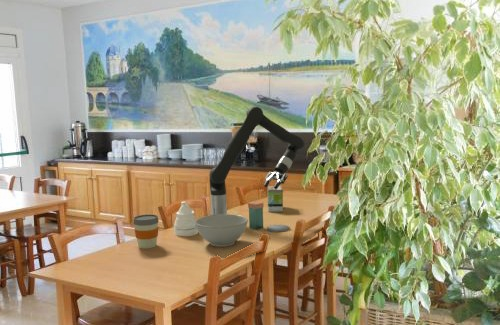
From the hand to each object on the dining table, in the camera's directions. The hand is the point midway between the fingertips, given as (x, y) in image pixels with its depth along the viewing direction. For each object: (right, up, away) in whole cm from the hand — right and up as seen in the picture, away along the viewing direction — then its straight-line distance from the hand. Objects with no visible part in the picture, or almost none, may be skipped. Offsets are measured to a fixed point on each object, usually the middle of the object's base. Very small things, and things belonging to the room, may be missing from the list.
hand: (269, 187), depth 286 cm
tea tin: (-8, -23, -5) cm, 25 cm away
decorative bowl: (-26, -27, -33) cm, 50 cm away
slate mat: (+4, -23, -8) cm, 25 cm away
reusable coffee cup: (-64, -28, -34) cm, 78 cm away
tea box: (+5, -17, +41) cm, 45 cm away
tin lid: (-8, -12, -6) cm, 16 cm away
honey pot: (-47, -25, -11) cm, 55 cm away
